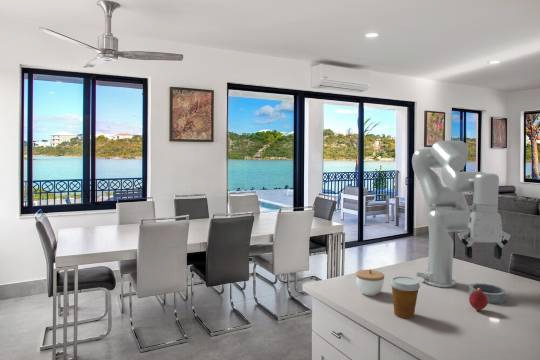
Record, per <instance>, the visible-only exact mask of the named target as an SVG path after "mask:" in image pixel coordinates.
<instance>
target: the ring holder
mask: <svg viewBox="0 0 540 360" xmlns="http://www.w3.org/2000/svg"><path fill="white" fill-rule="evenodd" d="M478 288H480V289H481V291H482V292H483V293H484V294H485V295H486V297H487V299H488V303H487V304H493V305H497V304H498V305H499V304H503V303H505V301H506V292H507V291H506V290H505V289H503V288H502V287H500V286H497V285H495V284H494V285H493V284H489V283H478V282H476V283H475V282H474V283H472V284H470V285H469V287H468V296H469V297H470V295H471V293H472V292H474V291H476V290H477V289H478Z"/></svg>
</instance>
